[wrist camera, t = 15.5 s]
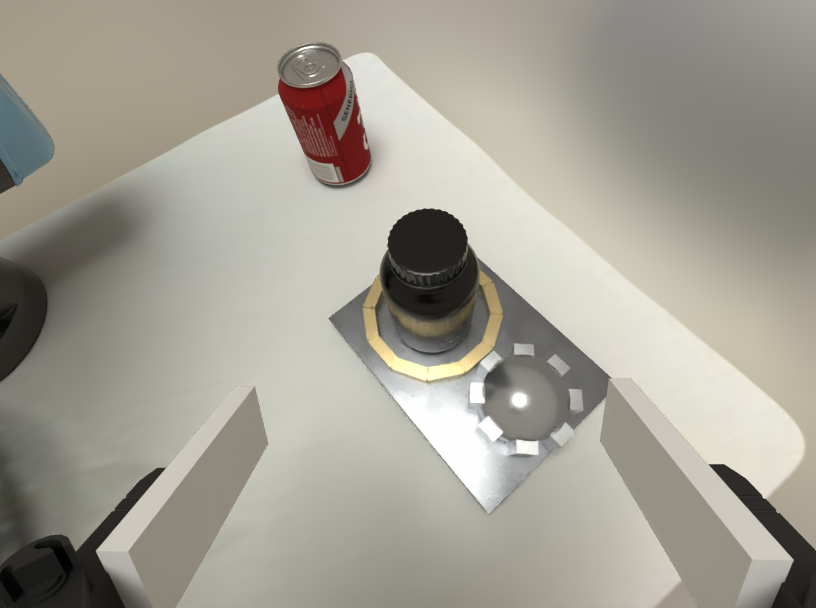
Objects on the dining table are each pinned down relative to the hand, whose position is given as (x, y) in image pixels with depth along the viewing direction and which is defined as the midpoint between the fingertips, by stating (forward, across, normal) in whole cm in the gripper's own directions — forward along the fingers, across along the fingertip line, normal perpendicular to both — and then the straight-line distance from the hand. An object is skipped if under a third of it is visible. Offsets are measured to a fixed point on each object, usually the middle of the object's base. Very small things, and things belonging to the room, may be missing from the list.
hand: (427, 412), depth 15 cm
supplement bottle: (+19, 0, -4) cm, 20 cm away
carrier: (+18, +3, -7) cm, 20 cm away
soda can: (+34, -10, +8) cm, 36 cm away
